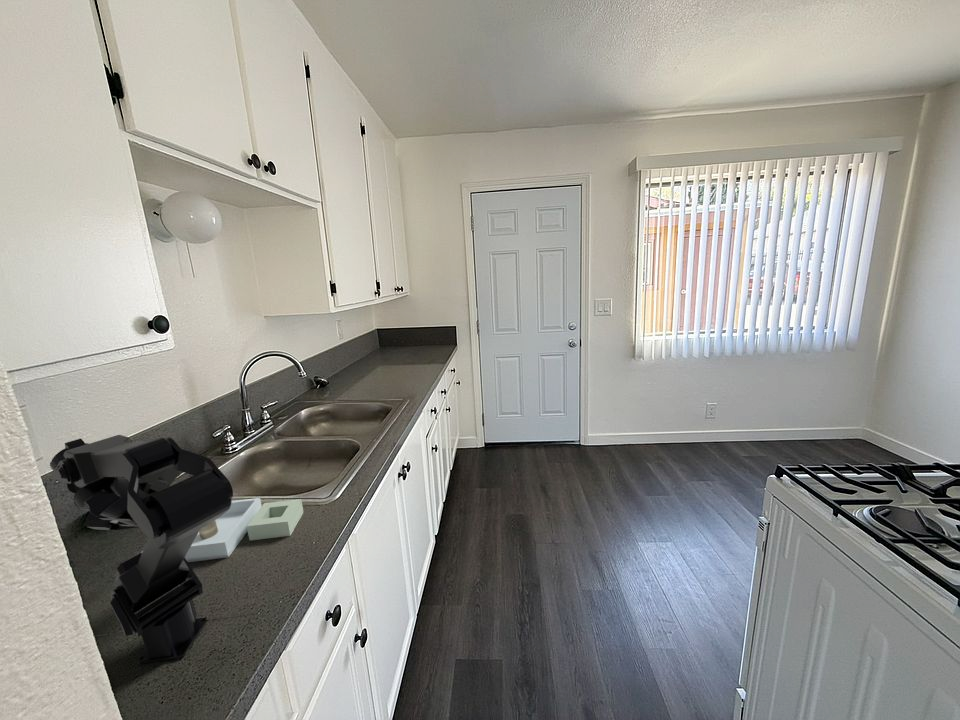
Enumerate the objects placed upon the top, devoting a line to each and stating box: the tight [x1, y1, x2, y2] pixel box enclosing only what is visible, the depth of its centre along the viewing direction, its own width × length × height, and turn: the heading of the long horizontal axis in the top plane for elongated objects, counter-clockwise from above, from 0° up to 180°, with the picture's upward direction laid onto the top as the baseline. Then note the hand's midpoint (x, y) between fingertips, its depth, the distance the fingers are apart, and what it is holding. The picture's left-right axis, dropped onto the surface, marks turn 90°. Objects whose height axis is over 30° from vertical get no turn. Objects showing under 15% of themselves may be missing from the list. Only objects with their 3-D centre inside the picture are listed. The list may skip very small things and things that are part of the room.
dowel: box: [199, 520, 218, 539], centre depth 82 cm, size 3×3×12 cm
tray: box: [140, 497, 263, 563], centre depth 83 cm, size 16×16×4 cm
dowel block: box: [247, 498, 304, 541], centre depth 86 cm, size 8×8×4 cm
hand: (179, 522), depth 74 cm, fingers open, 9 cm apart
